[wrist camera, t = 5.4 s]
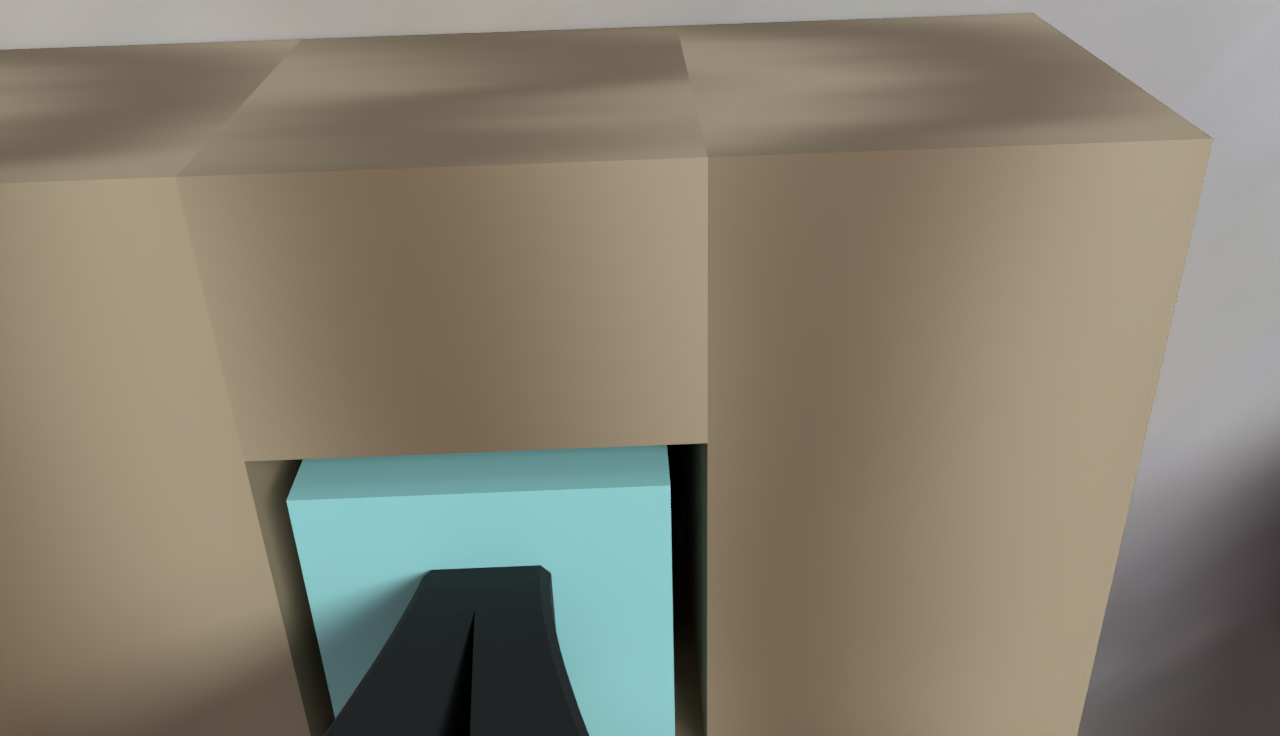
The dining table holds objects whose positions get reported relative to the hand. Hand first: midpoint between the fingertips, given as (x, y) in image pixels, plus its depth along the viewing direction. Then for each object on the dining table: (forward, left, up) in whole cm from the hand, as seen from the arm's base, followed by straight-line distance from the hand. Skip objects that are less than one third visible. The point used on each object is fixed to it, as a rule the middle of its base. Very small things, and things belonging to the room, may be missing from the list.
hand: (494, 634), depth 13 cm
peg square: (0, 0, -5) cm, 5 cm away
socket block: (0, +6, -5) cm, 8 cm away
